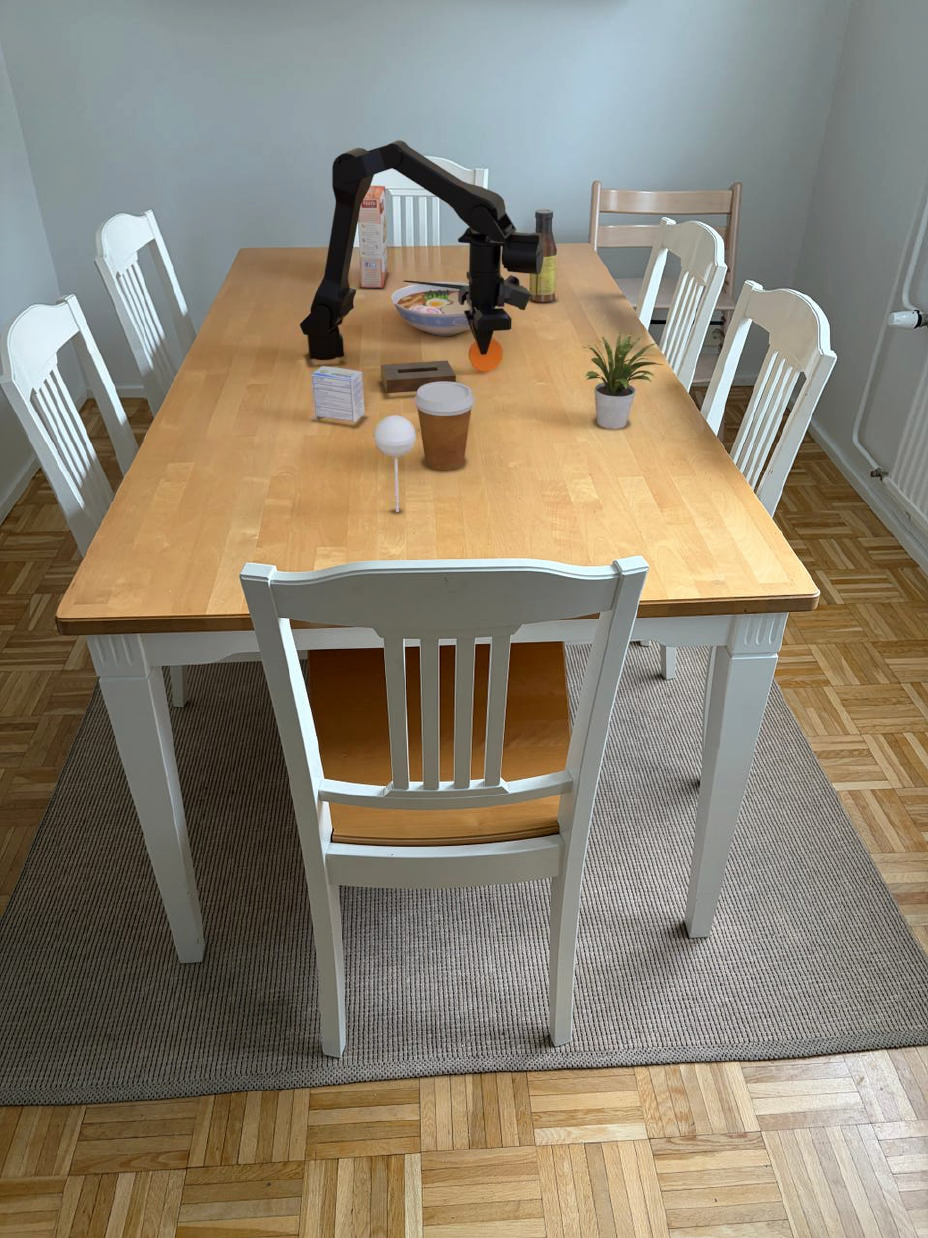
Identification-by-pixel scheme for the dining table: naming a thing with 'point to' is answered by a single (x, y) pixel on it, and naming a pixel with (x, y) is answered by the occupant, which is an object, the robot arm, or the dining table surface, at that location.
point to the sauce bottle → (545, 260)
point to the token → (486, 356)
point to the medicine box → (338, 393)
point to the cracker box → (373, 238)
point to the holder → (415, 375)
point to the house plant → (617, 382)
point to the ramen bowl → (432, 307)
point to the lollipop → (395, 441)
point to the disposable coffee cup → (444, 422)
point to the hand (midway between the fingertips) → (482, 352)
